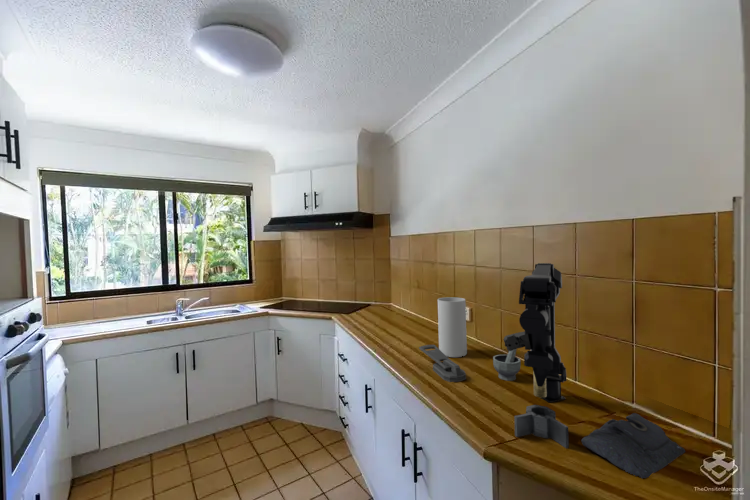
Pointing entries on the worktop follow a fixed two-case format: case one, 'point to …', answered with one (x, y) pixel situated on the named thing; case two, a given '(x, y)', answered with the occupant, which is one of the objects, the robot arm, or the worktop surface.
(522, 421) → the grey hollow finned part
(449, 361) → the zipper pull
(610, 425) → the dark slate chunk
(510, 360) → the mortar and pestle
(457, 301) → the cylinder vase
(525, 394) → the worktop surface
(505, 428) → the worktop surface
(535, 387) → the brass pin
